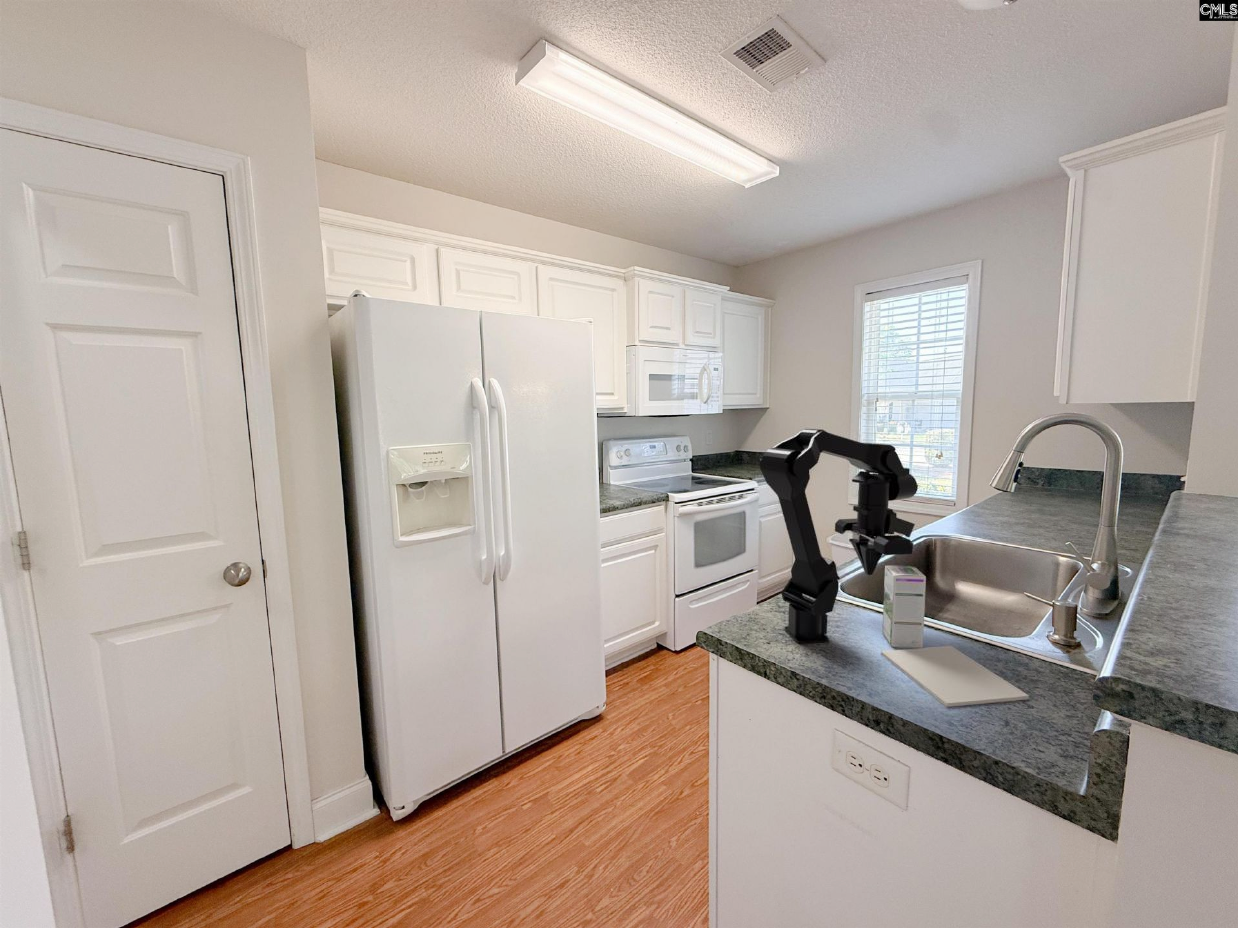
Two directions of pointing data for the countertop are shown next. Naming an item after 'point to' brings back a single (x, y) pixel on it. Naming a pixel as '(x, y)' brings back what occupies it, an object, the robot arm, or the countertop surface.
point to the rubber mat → (953, 676)
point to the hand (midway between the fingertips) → (869, 574)
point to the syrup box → (904, 606)
